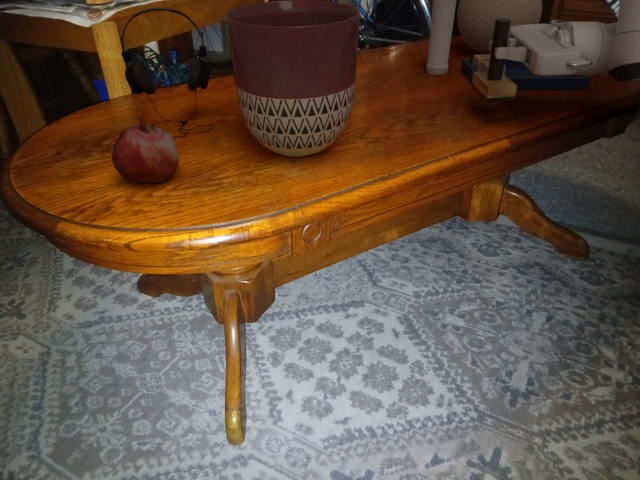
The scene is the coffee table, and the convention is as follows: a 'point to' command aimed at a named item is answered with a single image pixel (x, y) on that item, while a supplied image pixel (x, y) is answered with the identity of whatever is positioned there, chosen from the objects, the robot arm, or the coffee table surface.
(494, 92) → the brush
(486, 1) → the decorative sphere
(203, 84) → the headphones
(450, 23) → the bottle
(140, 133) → the fruit
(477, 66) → the crumb
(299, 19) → the planter
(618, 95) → the coffee table surface
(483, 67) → the beige cube
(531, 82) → the tray
